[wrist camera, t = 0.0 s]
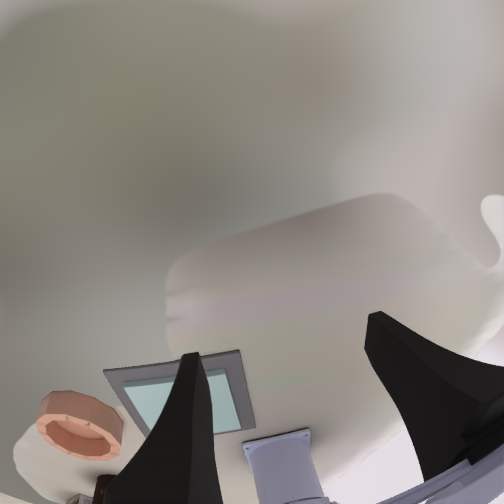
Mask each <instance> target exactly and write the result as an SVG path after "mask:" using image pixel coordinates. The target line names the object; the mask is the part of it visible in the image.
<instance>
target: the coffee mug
mask: <svg viewBox="0 0 504 504" xmlns="http://www.w3.org/2000/svg"><path fill="white" fill-rule="evenodd" d="M116 476H117V475H101V476H99V477H98V479H97V483H96V487H95V492H94V496H93V501H92V504H103V498H104V494H105V489H106V486H107V485H108V484H109V483H110V482H111V481H112V480H113V479H114V478H115V477H116Z"/></svg>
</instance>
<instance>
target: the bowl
mask: <svg viewBox="0 0 504 504" xmlns="http://www.w3.org/2000/svg"><path fill="white" fill-rule="evenodd" d="M36 423H37V428H38V432H39V433H40V434H41V436H42V437H43V438H44V439H45V440H46V441H47V442H48V443H49V444H50V445H52V446H54V447H56V448H57V449H59V450H61V451H63V452H65V453H66V454H68V455H72V456H75V457H79V458H82V459H86V460H99V461H107V460H110V459H112V458H114V457H117V456H119V453H120V448H121V441H122V431H123V422H122V420H121V419H120V417H119V416H118V415H117V413H116V412H115V410H114V409H112V408H111V407H109V406H107V405H106V404H104V403H102V402H101V401H99V400H98V399H96V398H94V397H91V396H87V395H84V394H81V393H78V392H74V391H52V392H51V393H50V394H48V395H47V396H46V397H45V398H44V399H43V400H42V404H41V407H40V410H39V413H38V416H37V420H36Z"/></svg>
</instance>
